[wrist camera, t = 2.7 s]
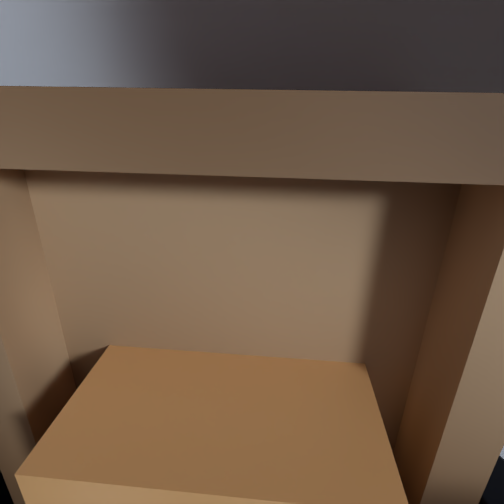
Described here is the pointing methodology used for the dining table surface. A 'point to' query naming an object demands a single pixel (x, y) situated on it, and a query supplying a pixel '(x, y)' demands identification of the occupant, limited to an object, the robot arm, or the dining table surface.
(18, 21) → the dining table surface
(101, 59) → the dining table surface
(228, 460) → the block
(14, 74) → the dining table surface
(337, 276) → the shallow cardboard tray
